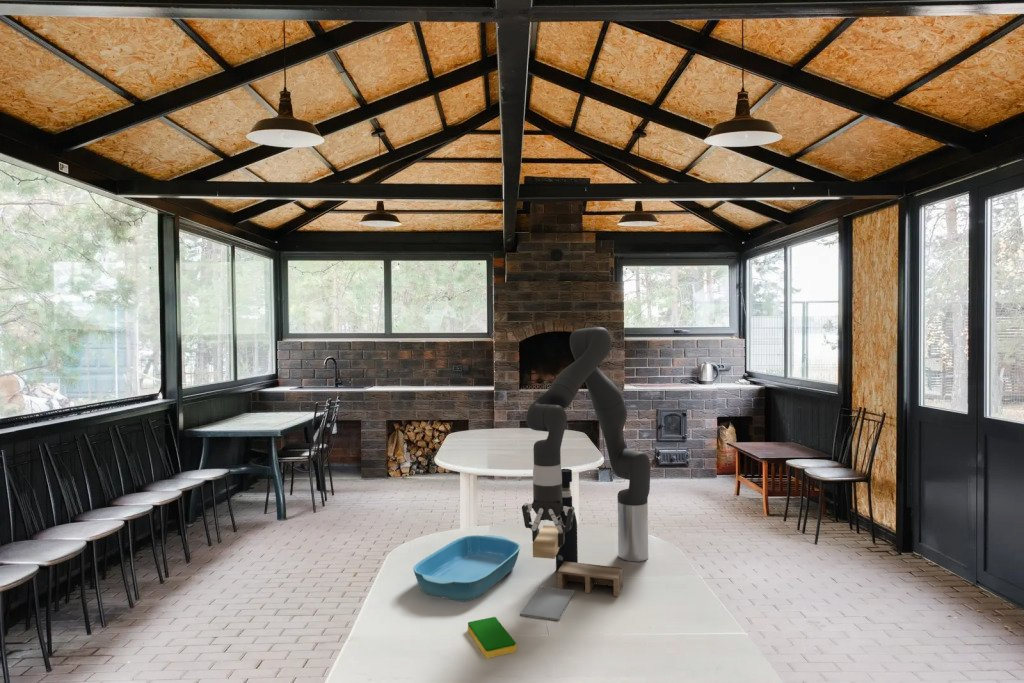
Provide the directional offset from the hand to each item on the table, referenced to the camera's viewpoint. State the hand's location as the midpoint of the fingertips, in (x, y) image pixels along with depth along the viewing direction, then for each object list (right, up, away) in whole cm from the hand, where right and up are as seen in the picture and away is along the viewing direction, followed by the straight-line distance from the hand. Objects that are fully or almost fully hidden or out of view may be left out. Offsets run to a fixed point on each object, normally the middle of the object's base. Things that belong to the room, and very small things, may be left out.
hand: (548, 545), depth 162 cm
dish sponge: (-14, -17, -18) cm, 28 cm away
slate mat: (0, -16, +1) cm, 16 cm away
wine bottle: (+7, -15, +22) cm, 27 cm away
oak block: (0, -1, 0) cm, 1 cm away
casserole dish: (-22, -16, +18) cm, 32 cm away
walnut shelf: (+12, -15, +10) cm, 22 cm away
